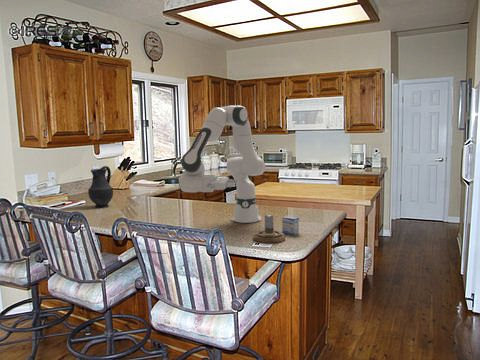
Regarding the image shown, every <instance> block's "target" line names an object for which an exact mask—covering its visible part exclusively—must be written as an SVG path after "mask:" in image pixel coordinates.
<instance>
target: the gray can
mask: <svg viewBox="0 0 480 360" xmlns="http://www.w3.org/2000/svg"><path fill="white" fill-rule="evenodd" d="M274 222H275V219H274V214H265V215H264V230H265V232H263V235H265V236H274V235H276V233H275V232H274V231H275V230H274Z"/></svg>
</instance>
